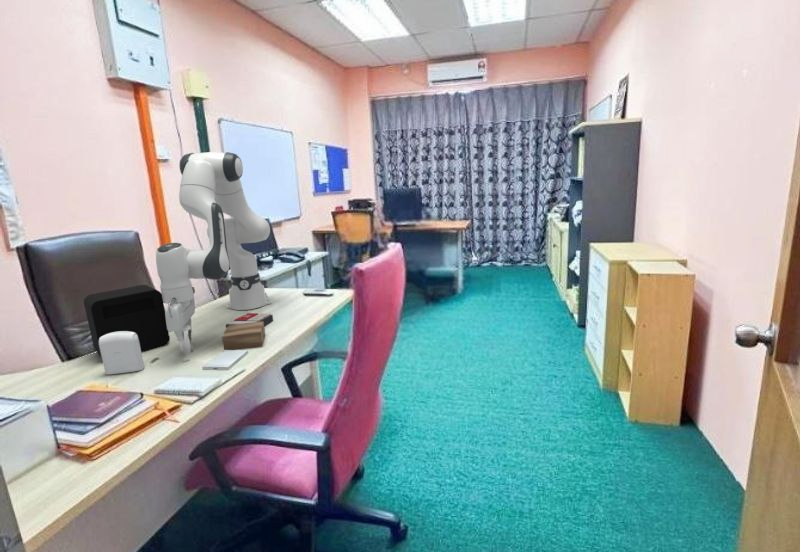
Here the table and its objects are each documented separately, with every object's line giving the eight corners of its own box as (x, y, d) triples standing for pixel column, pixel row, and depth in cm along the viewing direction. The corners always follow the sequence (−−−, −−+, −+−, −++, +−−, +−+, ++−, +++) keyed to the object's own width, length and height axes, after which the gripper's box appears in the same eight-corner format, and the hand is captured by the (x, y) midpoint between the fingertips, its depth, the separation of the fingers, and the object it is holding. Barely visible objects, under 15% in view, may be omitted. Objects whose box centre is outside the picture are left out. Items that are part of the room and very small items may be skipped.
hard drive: (224, 349, 139) (201, 366, 127) (248, 349, 138) (227, 366, 126) (224, 354, 139) (202, 371, 127) (248, 354, 138) (228, 371, 126)
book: (272, 312, 169) (252, 323, 154) (273, 323, 170) (253, 335, 155) (247, 312, 171) (224, 322, 157) (248, 322, 172) (226, 334, 157)
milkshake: (194, 347, 145) (189, 319, 143) (195, 352, 140) (190, 323, 138) (179, 350, 143) (174, 322, 141) (180, 356, 138) (174, 326, 136)
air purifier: (158, 335, 160) (148, 282, 156) (171, 344, 150) (161, 288, 145) (93, 351, 146) (81, 295, 142) (103, 363, 136) (89, 302, 132)
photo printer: (103, 376, 126) (94, 336, 123) (110, 370, 130) (101, 331, 128) (141, 372, 128) (133, 332, 125) (146, 366, 132) (139, 327, 129)
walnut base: (229, 338, 152) (227, 325, 151) (265, 334, 154) (263, 321, 153) (224, 351, 140) (221, 336, 139) (262, 346, 143) (260, 332, 142)
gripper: (179, 302, 128) (187, 345, 131) (195, 286, 148) (201, 324, 151) (156, 304, 127) (164, 348, 130) (175, 288, 146) (182, 327, 149)
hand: (184, 335), depth 140 cm, fingers open, 8 cm apart
